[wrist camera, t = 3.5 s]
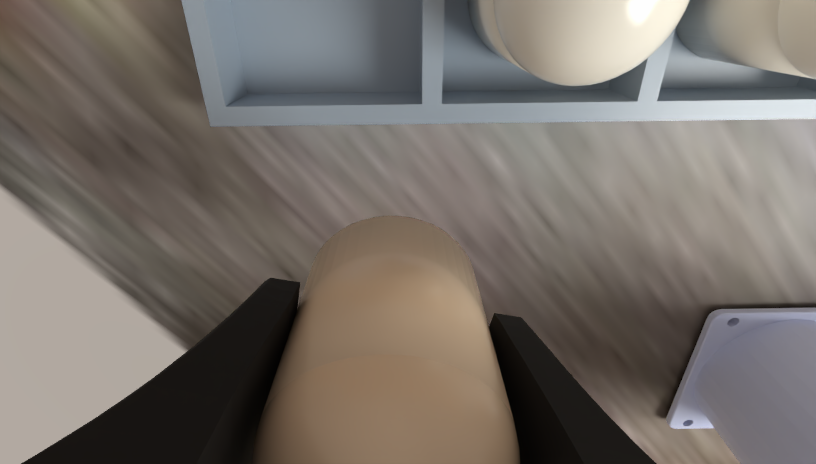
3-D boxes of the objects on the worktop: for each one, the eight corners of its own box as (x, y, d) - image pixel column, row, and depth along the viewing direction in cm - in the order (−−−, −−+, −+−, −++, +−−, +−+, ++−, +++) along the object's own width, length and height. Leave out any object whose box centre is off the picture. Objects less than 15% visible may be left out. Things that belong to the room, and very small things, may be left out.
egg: (495, 232, 10) (619, 532, 4) (452, 361, 12) (497, 685, 6) (318, 201, 10) (197, 490, 4) (302, 339, 12) (207, 668, 6)
